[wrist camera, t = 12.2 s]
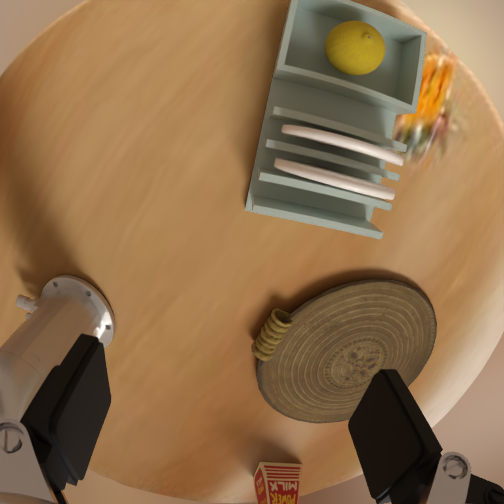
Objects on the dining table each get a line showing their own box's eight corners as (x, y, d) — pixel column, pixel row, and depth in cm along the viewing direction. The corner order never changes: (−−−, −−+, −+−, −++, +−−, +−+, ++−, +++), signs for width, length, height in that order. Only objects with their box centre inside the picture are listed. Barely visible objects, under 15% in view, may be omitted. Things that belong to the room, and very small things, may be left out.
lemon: (376, 61, 27) (409, 45, 19) (344, 90, 28) (372, 79, 21) (339, 25, 25) (364, -1, 18) (306, 54, 27) (323, 32, 19)
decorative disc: (374, 432, 47) (220, 415, 42) (369, 420, 50) (220, 399, 45) (470, 311, 38) (304, 249, 32) (459, 301, 41) (298, 238, 35)
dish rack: (245, 208, 34) (243, 246, 23) (288, 5, 25) (306, -48, 14) (362, 232, 35) (407, 277, 24) (404, 43, 26) (461, 17, 15)
